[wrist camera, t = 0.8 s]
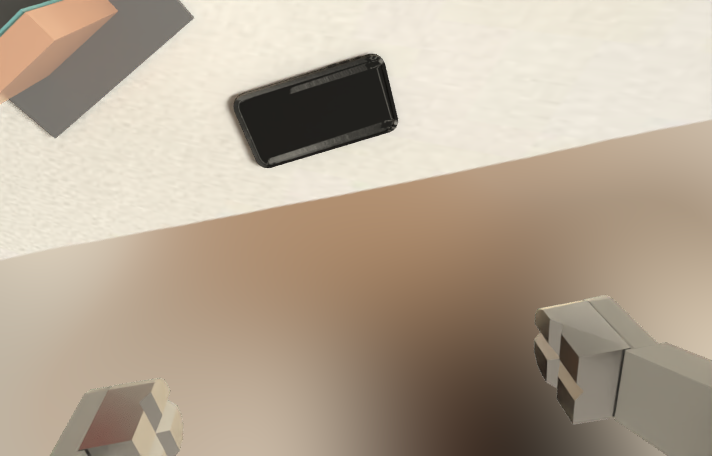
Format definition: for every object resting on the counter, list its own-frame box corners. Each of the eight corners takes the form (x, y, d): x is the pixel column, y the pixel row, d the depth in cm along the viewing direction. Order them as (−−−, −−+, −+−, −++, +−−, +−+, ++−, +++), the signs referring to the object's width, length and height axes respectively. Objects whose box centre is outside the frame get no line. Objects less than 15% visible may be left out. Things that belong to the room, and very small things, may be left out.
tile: (118, 11, 39) (54, 40, 29) (48, 75, 41) (-33, 123, 31) (95, -14, 38) (20, 7, 28) (24, 54, 40) (-68, 96, 30)
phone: (400, 128, 47) (260, 170, 48) (398, 125, 48) (261, 166, 49) (382, 51, 43) (229, 99, 44) (380, 48, 44) (230, 95, 45)
